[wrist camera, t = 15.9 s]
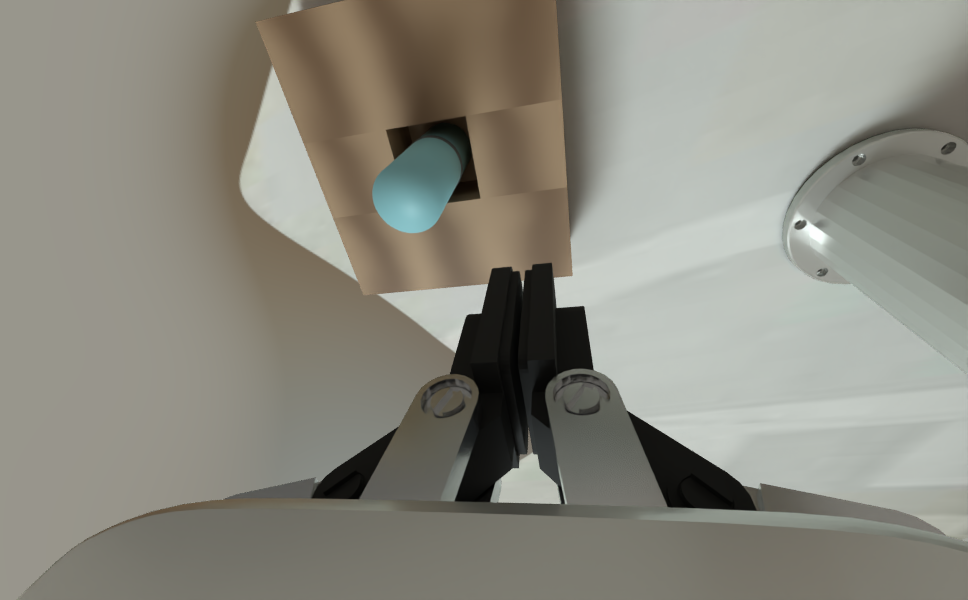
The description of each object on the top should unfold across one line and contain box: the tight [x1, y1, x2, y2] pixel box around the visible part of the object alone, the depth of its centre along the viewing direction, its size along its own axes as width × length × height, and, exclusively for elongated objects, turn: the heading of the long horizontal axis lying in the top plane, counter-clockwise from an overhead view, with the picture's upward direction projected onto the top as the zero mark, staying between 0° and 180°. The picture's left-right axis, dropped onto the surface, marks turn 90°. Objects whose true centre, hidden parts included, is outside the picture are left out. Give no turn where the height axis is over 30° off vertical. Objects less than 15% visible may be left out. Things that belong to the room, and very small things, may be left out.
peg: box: [372, 123, 472, 233], centre depth 27 cm, size 4×4×12 cm
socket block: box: [256, 0, 572, 295], centre depth 30 cm, size 18×20×6 cm
